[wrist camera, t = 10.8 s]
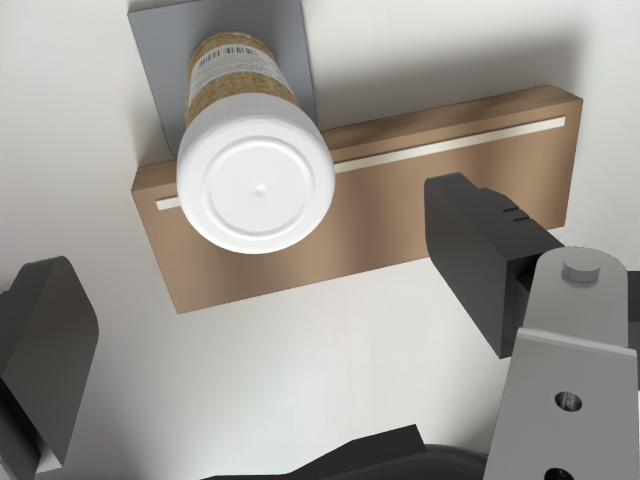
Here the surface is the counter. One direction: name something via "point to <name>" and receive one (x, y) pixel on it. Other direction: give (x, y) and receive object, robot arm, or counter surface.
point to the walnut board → (377, 194)
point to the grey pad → (199, 24)
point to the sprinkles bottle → (249, 151)
